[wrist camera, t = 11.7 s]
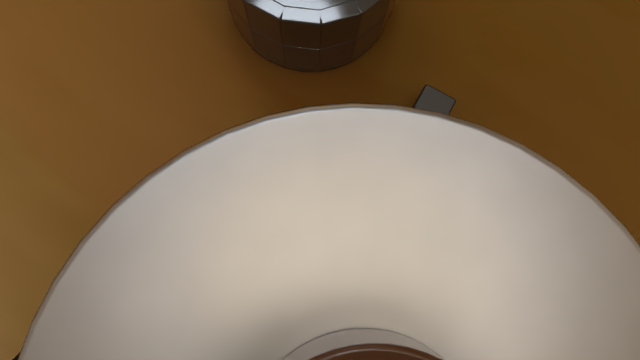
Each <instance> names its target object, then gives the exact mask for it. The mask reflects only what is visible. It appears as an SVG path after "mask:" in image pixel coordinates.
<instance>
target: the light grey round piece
mask: <svg viewBox="0 0 640 360" xmlns="http://www.w3.org/2000/svg"><path fill="white" fill-rule="evenodd" d="M18 360H640V245H639V244H638V243H637V242H636V240H635V239H634V238H633V236H632V235H631V234H630V232H629V231H628V230H627V229H626V227H625V226H624V225H623V224H622V223H621V222H620V221H619V220H618V219H617V218H616V217H615V216H614V215H613V214H612V213H611V212H610V211H609V210H608V209H607V208H606V207H605V206H604V205H603V204H602V203H601V202H600V201H599V200H598V199H597V198H596V197H595V196H594V195H593V194H592V193H590V192H589V191H588V190H587V189H585V188H584V187H583V186H582V185H580V184H579V183H578V182H577V181H575V180H574V179H573V178H572V177H570V176H569V175H568V174H567V173H565V172H564V171H563V170H562V169H560V168H559V167H558V166H556V165H555V164H553V163H551V162H550V161H548V160H547V159H545V158H543V157H542V156H540V155H538V154H537V153H535V152H533V151H532V150H530V149H529V148H527V147H525V146H524V145H522V144H520V143H518V142H516V141H514V140H512V139H510V138H507V137H505V136H503V135H501V134H499V133H496V132H494V131H492V130H490V129H487V128H485V127H483V126H481V125H478V124H475V123H472V122H469V121H465V120H462V119H459V118H456V117H452V116H449V115H446V114H443V113H439V112H435V111H429V110H423V109H418V108H412V107H406V106H400V105H394V104H372V103H341V104H328V105H316V106H307V107H302V108H297V109H293V110H288V111H283V112H279V113H274V114H269V115H265V116H262V117H259V118H256V119H254V120H251V121H248V122H245V123H242V124H239V125H236V126H234V127H231V128H228V129H225V130H223V131H221V132H219V133H217V134H215V135H213V136H211V137H209V138H207V139H205V140H203V141H201V142H199V143H197V144H195V145H193V146H191V147H189V148H187V149H185V150H183V151H182V152H180V153H179V154H177V155H176V156H174V157H173V158H171V159H170V160H168V161H167V162H165V163H164V164H162V165H161V166H159V167H158V168H156V169H155V170H153V171H152V172H150V173H149V174H147V175H146V176H145V177H144V178H143V179H142V180H140V181H139V182H138V183H137V184H136V185H135V186H134V187H132V188H131V189H130V190H129V191H128V192H127V193H126V194H124V195H123V196H122V197H121V198H120V199H119V200H117V201H116V202H115V203H114V204H113V205H112V206H111V207H110V208H109V209H108V210H107V212H106V213H105V214H104V215H103V216H102V217H101V218H100V219H99V220H98V222H97V223H96V224H95V225H94V226H93V227H92V228H91V229H90V231H89V232H88V233H87V234H86V235H85V236H84V237H83V238H82V239H81V241H80V242H79V244H78V245H77V247H76V248H75V250H74V251H73V252H72V254H71V255H70V257H69V258H68V260H67V261H66V263H65V264H64V265H63V267H62V268H61V270H60V271H59V273H58V274H57V276H56V277H55V278H54V280H53V282H52V284H51V286H50V288H49V290H48V292H47V294H46V296H45V298H44V299H43V301H42V303H41V305H40V307H39V309H38V311H37V313H36V315H35V317H34V319H33V320H32V323H31V325H30V328H29V331H28V333H27V336H26V339H25V341H24V344H23V347H22V349H21V352H20V355H19V357H18Z"/></svg>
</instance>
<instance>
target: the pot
mask: <svg viewBox="0 0 640 360" xmlns="http://www.w3.org/2000/svg"><path fill="white" fill-rule="evenodd" d="M227 1H228V4H229V7H230V10H231V13H232V16H233V19H234V22H235V24H236V26H237V28H238V29H239V31H240V33H241V34H242V36H243V37H244V38H245V40H246V41H247V42H248V44H249V45H250V46H251V47H252V48H253V49H254V50H255V51H257V52H258V53H259V54H260V55H261V56H263V57H264V58H266V59H268V60H269V61H271V62H273V63H275V64H277V65H279V66H282V67H285V68H288V69H292V70H297V71H306V72H317V71H326V70H331V69H335V68H338V67H341V66H344V65H346V64H348V63H350V62H352V61H354V60H355V59H357V58H358V57H360V56H361V55H363V54H364V53H365V52H366V51H367V50H368V49H370V48H371V47H372V45H373V44H374V43H375V42H376V41H377V40H378V38H379V37H380V35H381V33H382V32H383V30H384V28H385V26H386V24H387V22H388V20H389V18H390V16H391V14H392V11H393V8H394V6H395V3H396V0H227Z"/></svg>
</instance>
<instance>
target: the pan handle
mask: <svg viewBox="0 0 640 360" xmlns="http://www.w3.org/2000/svg"><path fill="white" fill-rule="evenodd" d="M455 102H456V100H455V99H454V98H452V97H450V96H448V95H446V94H444V93H442V92H440V91H439V90H437V89H435V88H433V87H431V86H429V85H425V86H424V88H423V89H422V90H421V92H420V94H419V96H418V98H417V100H416V101H415V103H414V105H413V107H412V108H418V109H423V110H429V111H435V112H439V113H443V114H446V115H449V114H450V112H451V110H452V108H453V106H454V104H455Z"/></svg>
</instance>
